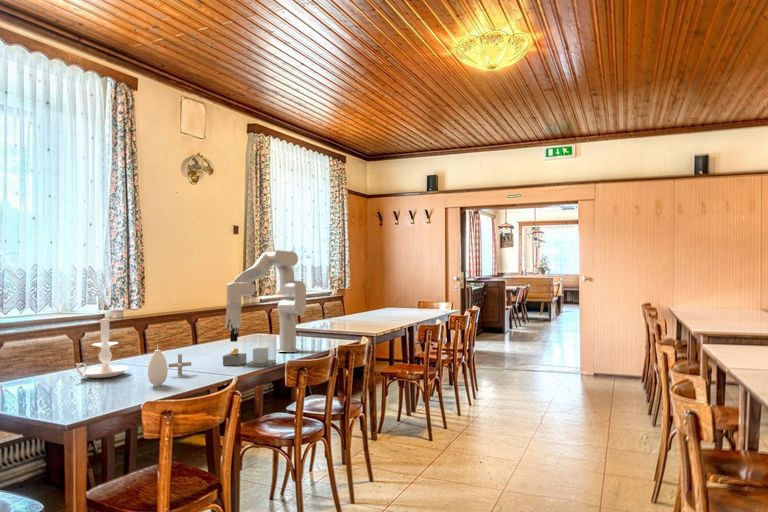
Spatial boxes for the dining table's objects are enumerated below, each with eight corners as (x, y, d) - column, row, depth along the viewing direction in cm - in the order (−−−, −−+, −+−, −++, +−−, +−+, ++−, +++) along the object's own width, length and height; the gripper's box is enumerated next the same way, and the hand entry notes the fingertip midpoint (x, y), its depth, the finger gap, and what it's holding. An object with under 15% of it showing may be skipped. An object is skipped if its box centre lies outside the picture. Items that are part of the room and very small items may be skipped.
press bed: (254, 362, 276) (254, 359, 276) (275, 362, 274) (275, 360, 274) (245, 367, 264) (245, 364, 264) (267, 367, 263) (267, 364, 263)
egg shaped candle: (146, 388, 218) (146, 345, 219) (149, 384, 226) (149, 343, 226) (166, 387, 220) (166, 344, 221) (168, 383, 228) (168, 342, 228)
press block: (230, 362, 277) (230, 353, 277) (246, 362, 276) (246, 353, 276) (222, 365, 268) (222, 356, 268) (239, 366, 267) (239, 356, 267)
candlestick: (61, 381, 237) (61, 319, 238) (110, 371, 260) (110, 314, 260) (91, 384, 228) (90, 320, 229) (139, 374, 251) (138, 315, 251)
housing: (257, 360, 273) (257, 347, 273) (268, 360, 272) (268, 347, 272) (253, 362, 267) (252, 349, 267) (264, 363, 266) (264, 349, 266)
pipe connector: (168, 374, 248) (168, 353, 248) (190, 372, 252) (190, 351, 252) (169, 378, 239) (168, 356, 239) (192, 376, 243) (192, 354, 243)
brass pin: (232, 357, 274) (232, 348, 274) (239, 357, 274) (239, 348, 274) (230, 358, 271) (229, 349, 271) (236, 358, 270) (236, 349, 270)
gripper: (233, 305, 281) (233, 339, 280) (220, 306, 266) (220, 343, 265) (246, 305, 280) (246, 339, 279) (235, 306, 265) (234, 343, 264)
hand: (233, 341), depth 272 cm, fingers closed
